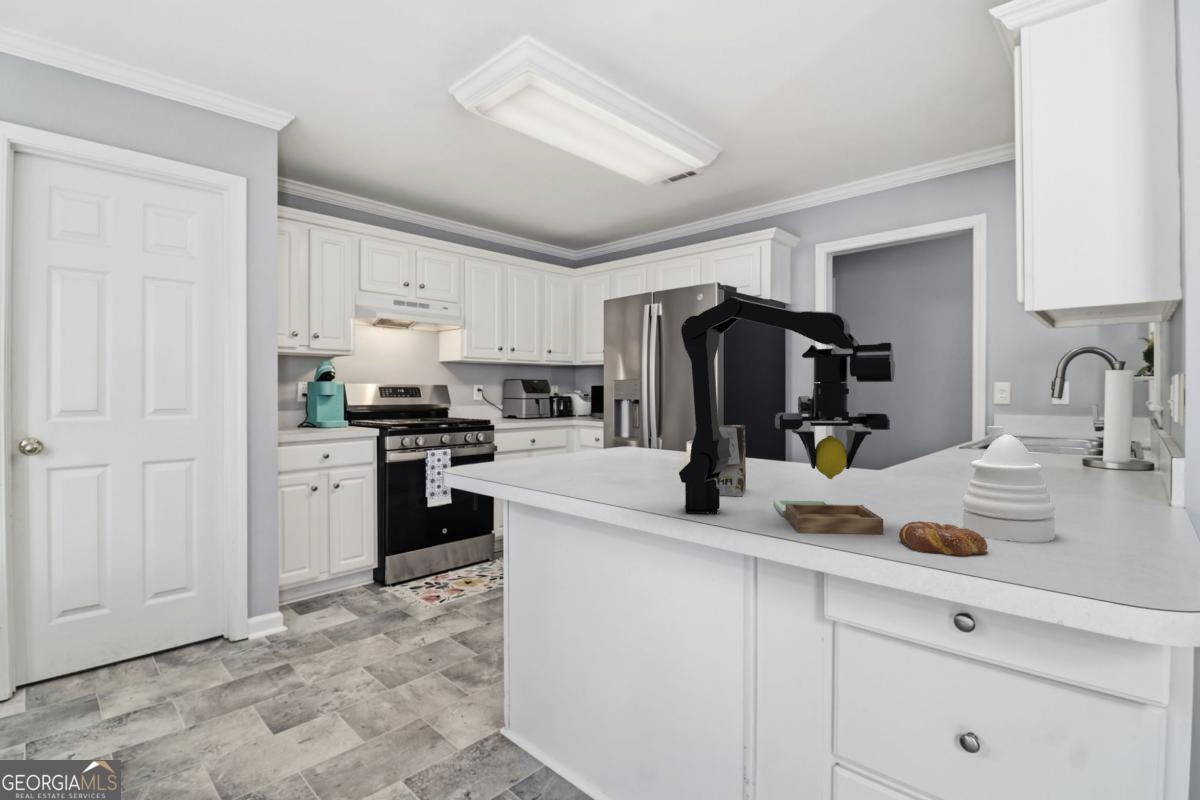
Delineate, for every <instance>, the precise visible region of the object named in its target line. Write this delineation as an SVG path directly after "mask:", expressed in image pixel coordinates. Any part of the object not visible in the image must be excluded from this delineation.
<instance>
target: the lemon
mask: <svg viewBox="0 0 1200 800" xmlns="http://www.w3.org/2000/svg"><path fill="white" fill-rule="evenodd" d="M815 455H816V466H815V469H816V470H818V472H820V473H821V474H822V475H824V476H825V477H826V479H828V480H833V479H834V477H836V476H838V475H840V474H841V473H842V472H843V471H844V470H845V469H846V468H845V466H846V462H847V454H846V446H845V445H844V444H843V443H842V441H841V440H839V439H838V438H836V437H834V436H833V435H831V434H830V435H827V437H824V438H822V439H821V440H819V441H818V443H817V444H816V445H815Z"/></svg>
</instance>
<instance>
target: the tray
mask: <svg viewBox="0 0 1200 800" xmlns="http://www.w3.org/2000/svg"><path fill="white" fill-rule="evenodd" d="M785 519H786V520H787V521H788V522H789V524H790V525H791V526H792V527H793V529H794V530H795V531H796V530H797V531H796V532H797V533H799V534H840V533H850V534H849V535H852V534H853V535H854V534H855V535H884V519H883V518H882V517H881V516H879V515H878V514H876V513H875V512H873V511H872V510H871V509H869V508H867V507H865V506H864V505H862V504H832V505H825V504H786V517H785Z"/></svg>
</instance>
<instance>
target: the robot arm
mask: <svg viewBox="0 0 1200 800" xmlns="http://www.w3.org/2000/svg"><path fill="white" fill-rule="evenodd" d="M740 320H744V321H745V320H746V321H749V322H750V321H751V322H753V323H759V324H762V325H766V326H771V327H776V328H780V329H785V330H789V331H792V332H795V333H797V334H799V335H800V336H803V337H804V338H808V339H810V340H812V341H813V342H816V343H818V344H819V343H820V344H822V345H826V346H832V347H833V346H834V347H835V346H836V347H837V348H839V349H842V350H846V351H850V352H852V353H837V351H836V349H835V348H834V347H833V348H832V347H831V348H818V347H817V346H816V345H815V344H814V345H813V344H811V345H809V347H808V349H807V350H805V352H803V353H802V355H801V358H804V359H813V389H812V397H811V398H810V396H809V395H799V396H798V398H797V411H798V412H778V413H776V415H775V418H774V428H776V429H778V430H785V431H786V430H787V431H788V430H791V433H793V434H795V435H798V437H799V439H800V441H801V442H802V444H803V446H804V449H805V452H806V455H807V458H808V461H809V463H810V467H811V469H813V470H815V469H816V455H815V448H816V441H815V431H813V430H812V427H849V429H848V428H847V429H845V433H846V444H845V445H846V446H845V450H846V454H847V462H846V466H845V468H844V469H845V470H850V468H851V466H852V463H853V461H854V459H855V457H856V454H857V452H858V450H859V448H860V446H861V444H863V441H864V440H865V439H866V437H867V436H869V435H872V434H873V432H872V431H874V430H875V431H876V430H877V431H878V430H879V431H881V430H882V431H883V430H884V431H885V430H886V431H888V430H890V429H891V425H890V424H891V422H890V421H891V420H890V417H889V416H888V415H887V413H882V412H858V413H857V415H856V416H855V415H853V416H851V415H850V414H849V413H850V411H848V410H849V409H848V405H849V404H848V395H849V394H850V389H849V388H848V381H849V380H848V379H849V378H848V377H849V376H848V375H850V377H852V378H853V377H854V378H855V379H856V382H857V383H893V382H894V379H895V374H896V373H895V372H896V371H895V370H896V361H894V360H895V359H894V353H893V343H891V342H881V343H876V344H875V343H874V344H860V343H859V340H857V339H856V338H855V337H854V336H853V335H852V333H851V327H850V322H848V320H847V319H846V317H844V316H842V315H841V314H838V313H835V312H833V311H821V310H820V311H818V310H817V311H816V310H815V311H814V310H813V311H812V310H811V311H809V310H807V311H806V310H805V311H804V310H803V311H799V310H793V309H787V308H782V307H779V306H773V305H768V304H764V303H759V302H754V301H751V300H745V299H743V298H739V297H737V296H731V297H728V298H726V299H724V300H723V301H722V302H721V303H719V304H717V305H714V306H712V307H711V308H708V309H706V310H704V311H702V312H701V313H699V314H698V315H691V316H688V318H686V319H685V320H684V322H682V324H681V328H680V333H681V339H682V341H683V346H684V349H685V351H686V354H687V355H688V358H689V361H690V363H691V378H692V391H693V407H694V408H693V409H694V421H695V424H694V425H695V431H694V432H695V433H694V435H693V439H692V442H691V446H690V455H689V457H690V458H689V462H688V463H686V465H685V466H684V467H683V468H682V469H681V470H680V471H679V472H678V475H679V478H680V481H681V483H682V484H684V487H685V488H684V490H685V491H684V496H685V497H684V498H685V499H684V500H685V501H684V502H685V504H684V513H685V514H718V513H719V511H718V510H719V509H720V507H721V506H720V504H721V502H720V501H721V499H720V497H721V495H720V493H719V487H716V479H718V478H719V476H720V473H721V471H722V470H724V468H725V467H726V466H727V465H728V461H729V458H730V457H732V456H731V454H730V450H729V445H730V438H729V437H728V438H723V437H722V435H721V433H720V431H719V426H720V425H719V416H718V415H719V414H718V413H719V412H718V411H719V410H718V400H717V399H718V398H717V386H716V384H717V383H716V370H715V369H716V368H715V358H716V355H717V352H718V349H719V344H720V335H722V334H723V333H725V332H726V331H728V330H729V329H730V328H732V326H733V325H735V324H736V322H738V321H740ZM848 359H849V361H848ZM848 362H849V366H848ZM848 368H849V373H848ZM803 415H804V416H803ZM807 415H808V416H807ZM836 418H838V419H836ZM871 430H872V431H871Z"/></svg>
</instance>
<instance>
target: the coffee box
mask: <svg viewBox="0 0 1200 800" xmlns="http://www.w3.org/2000/svg"><path fill="white" fill-rule="evenodd" d="M719 431H720V433H721V435H722V437H723V438H728V437H729V438H730V445H729V450H730V454H731V456H732V457H730V458H729V461H728V465H727V466H726V467H725V468H724V470H722V471H721V473H720V476H719V478H718V479H715V480H716V487H719V493H720V496H726V497H727V496H728V497H743V496H744V494H745V493H746V490H747V489H746V488H747V482H746V480H747V478H746V477H747V475H746V474H747V473H746V472H747V471H746V469H747V468H746V464H747V463H746V425H745V424H732V425H731V424H729V425H728V424H727V425H719Z"/></svg>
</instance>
